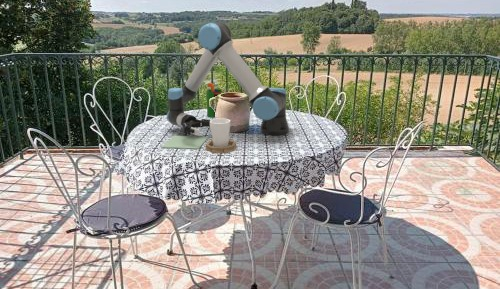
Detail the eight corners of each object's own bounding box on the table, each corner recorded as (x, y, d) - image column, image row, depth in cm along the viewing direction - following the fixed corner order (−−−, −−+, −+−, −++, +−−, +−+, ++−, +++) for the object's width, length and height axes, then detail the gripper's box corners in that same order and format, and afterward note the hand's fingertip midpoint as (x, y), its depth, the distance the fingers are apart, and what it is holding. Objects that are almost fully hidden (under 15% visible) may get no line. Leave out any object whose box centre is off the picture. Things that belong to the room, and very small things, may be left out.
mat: (208, 137, 198) (208, 136, 198) (198, 149, 181) (198, 148, 181) (174, 136, 201) (174, 135, 200) (161, 147, 184) (161, 146, 184)
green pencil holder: (219, 118, 236) (218, 84, 229) (205, 117, 237) (203, 84, 231) (223, 114, 245) (222, 82, 239) (210, 113, 247) (208, 81, 241)
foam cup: (223, 152, 176) (222, 124, 172) (206, 149, 181) (205, 122, 177) (235, 146, 184) (234, 119, 180) (219, 143, 188) (218, 117, 184)
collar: (237, 144, 188) (237, 139, 187) (232, 153, 175) (232, 148, 174) (210, 143, 190) (210, 138, 189) (203, 152, 177) (203, 147, 176)
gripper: (207, 124, 209) (232, 132, 193) (165, 133, 193) (189, 143, 178) (206, 110, 206) (231, 117, 191) (164, 118, 191) (188, 127, 176)
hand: (211, 130), depth 185 cm, fingers open, 13 cm apart
